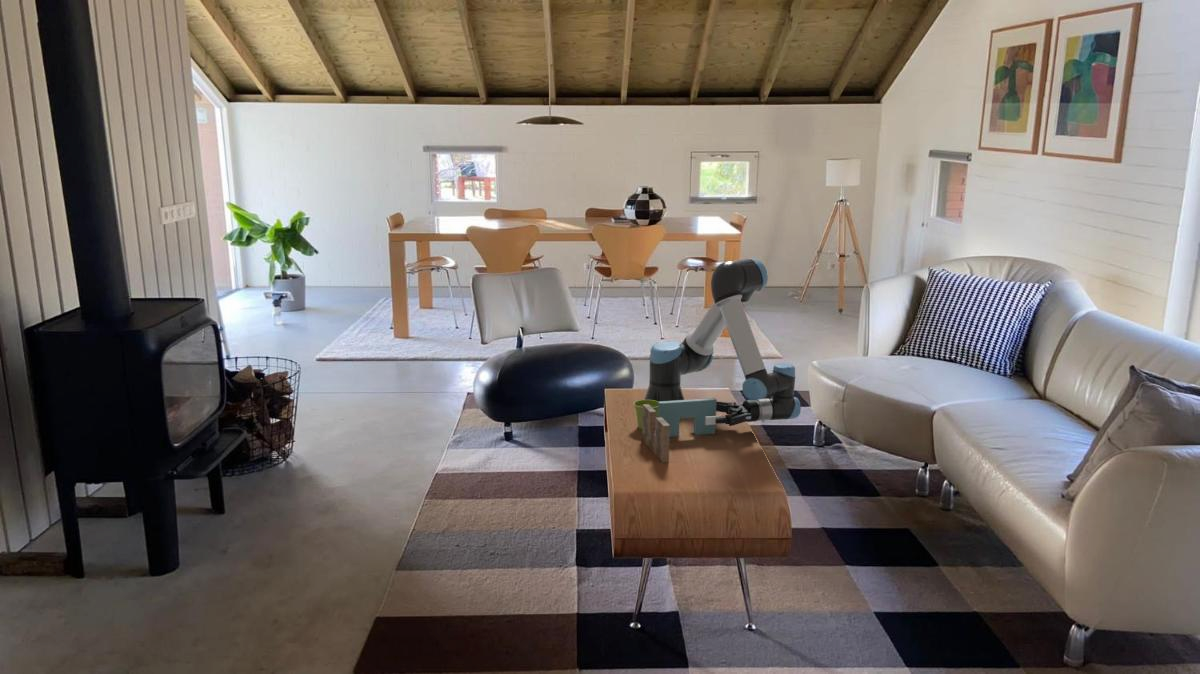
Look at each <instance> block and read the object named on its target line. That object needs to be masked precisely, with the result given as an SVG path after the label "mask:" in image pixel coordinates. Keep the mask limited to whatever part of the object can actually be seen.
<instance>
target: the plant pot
mask: <svg viewBox="0 0 1200 674" xmlns="http://www.w3.org/2000/svg"><path fill="white" fill-rule="evenodd" d="M643 404H649V405H650V406H651V407H652V408H653V409H654V410H655V411H656V418H658V401H655V400H644V399H640V400H639V399H638V400H636V401H634V402H633V406H634V408H635V412H636V421H637V427H638V429H640V430H642V419H643Z"/></svg>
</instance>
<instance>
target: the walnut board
mask: <svg viewBox="0 0 1200 674" xmlns="http://www.w3.org/2000/svg"><path fill="white" fill-rule="evenodd" d="M641 431H642V432H641V439H642V441H643V440H644V441H643V442H644V443H645V444H646V445H647V446H648V448H649V447H650V448H649V449H650V450H651V451H652V452H653V454H654V455H655V456H656V455H657V456H656V458H658V459H659V460H660V462H661V463H662V462H666V463H669V462H670V438H671V437H670V425H669V424H668V423H667V422H666V421H665V420H664V419H663V418H662V417H658V416H657V418H656V411H655V410H654V409H653V408H652V407H651V406H650V405H649V404H643V419H642V429H641Z"/></svg>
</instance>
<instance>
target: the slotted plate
mask: <svg viewBox="0 0 1200 674" xmlns="http://www.w3.org/2000/svg"><path fill="white" fill-rule="evenodd" d="M717 401H718V400H717V398H715V397H710V398H697V399H696V398H695V399H684V400H676V401H660V402H658V415H657V418H658V417H662V418H663V419H664V420H665V421H666V422H667V423H668V424H669V425H670V438H672V437H680V419H692V418H693V434H694V435H695V436H699V435H712V434H716V424H714V425H705V417H707V416H717V411H716V402H717Z"/></svg>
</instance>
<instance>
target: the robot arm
mask: <svg viewBox="0 0 1200 674" xmlns="http://www.w3.org/2000/svg"><path fill="white" fill-rule="evenodd" d="M768 279H769V276H768V270H767V268H766V266H765V265H764V263H763V262H762V261H761V260H759V259H757V258H743V259H736V260H727V261H724V262H721V263H720V264H718V266H717V267H716V268H715V269H714V271H712V275H711V278H710V291H711V296H712V298H713V302H712V304H711V305H710V307H709V308H708V310H707V312H706V313H705V315H704V316H703V318H702V319H701V321H700V322H699V324H698V325H697V327H696V328H695V330H694V331H693V332H689V333H687V335H686V337H685V338H684V339H683V341H682V342H680V343H679V342H677V341H661V342H658V343H657V342H656V343H655V344H654V345H652V346H651V348H650V353H649V380H648V381H649V382H648V383H649V384H648V388H647V390H646V393H645V396H644V397H643V398H644V399H643V400H655V401H658V402H660V401H676V400H685V397H684V394H683V391H682V387H681V381H682V380H681V379H682V378H681V377H682V376H683V375H688V374H692V373H698V372H701V371H704V370H705V369H708V367H710V366H711V364H712V362H713V360H714V356H713V354H714V349H715V348H714V344H715V343H716V341H717V340H718V338H719V337H720V335H721V334H722V332H723V331H724V329H727V332H728V334H729V338H730V340H731V343H732V345H733V348H734V350H735V354H736V357H737V359H738V362H739V364H740V367H741V371H742V373H743V377H744V378H745V380H744V381H743V383H742V389H741V390H742V393H743V395H744V397H745V398H746V399H745V400H744V401H743V402H742V404H741V405H740V404H737V402H735V401H733V402H732V401H731V402H730V401H729V402H728V401H718V400H717V402H716V412H719V413H724V414H725V415H723V414H722V415H721V414H720V415H716V416H707V417H705V425H714V424H715V425H728V426H729V427H733V426H735V425H739V424H743V423H746V422H747V423H751V422H752V423H753V422H762V423H764V422H766V421H777V420H780V421H781V420H784V421H785V420H791V419H796V418H798V417H799V416H800V415H801V409H802V408H801V407H802V406H801V402H800V400H799V398H798V397H797V396H795V386H796V367H795V366H794V365H793V364H790V363H784V362H781V363H776V364H774V366H773V367H772V372H770V373H768V372H767V369H766V366H765V363H764V360H763V358H762V355H761V353H760V348H759V347H758V344H757V342H756V341H757V340H756V339H755V336H754V333H753V330H752V327H751V324H750V322H749V320H748V319H749V318H748V316H747V313H746V310H745V309H744V306H743V304H744V303H748V302H749V300H750V299H751V298H752V297H753V296H754V294H755V293H756V292H759V291H761V290H763V289H764V288H765V287H766V286H767V284H768V281H769V280H768ZM768 397H770V398H768Z"/></svg>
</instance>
